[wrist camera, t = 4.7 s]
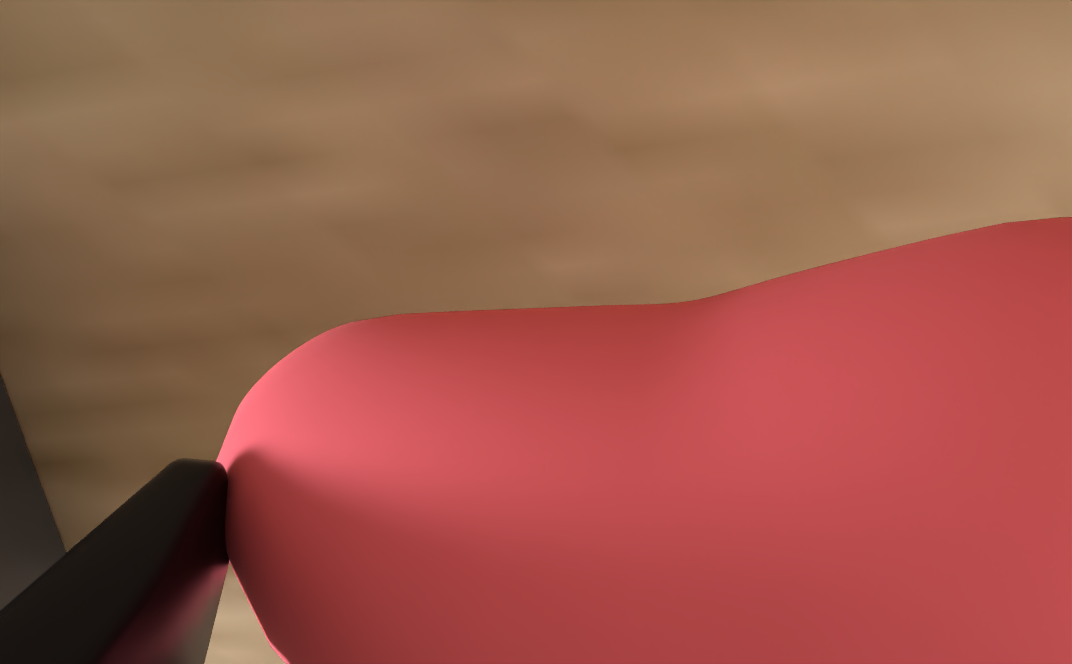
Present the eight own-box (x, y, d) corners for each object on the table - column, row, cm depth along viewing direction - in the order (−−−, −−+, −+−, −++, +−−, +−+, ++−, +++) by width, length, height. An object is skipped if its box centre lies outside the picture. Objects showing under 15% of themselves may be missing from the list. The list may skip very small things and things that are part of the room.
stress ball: (924, 512, 14) (1421, 840, 8) (290, 692, 12) (311, 1309, 6) (916, 149, 12) (1522, 216, 6) (186, 288, 10) (76, 572, 4)
